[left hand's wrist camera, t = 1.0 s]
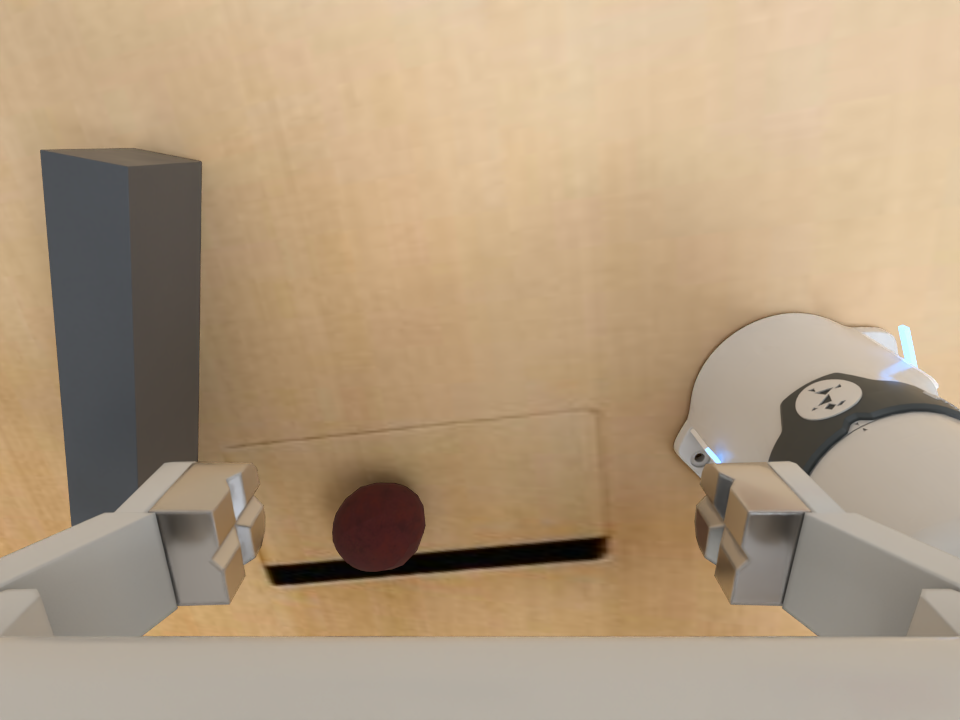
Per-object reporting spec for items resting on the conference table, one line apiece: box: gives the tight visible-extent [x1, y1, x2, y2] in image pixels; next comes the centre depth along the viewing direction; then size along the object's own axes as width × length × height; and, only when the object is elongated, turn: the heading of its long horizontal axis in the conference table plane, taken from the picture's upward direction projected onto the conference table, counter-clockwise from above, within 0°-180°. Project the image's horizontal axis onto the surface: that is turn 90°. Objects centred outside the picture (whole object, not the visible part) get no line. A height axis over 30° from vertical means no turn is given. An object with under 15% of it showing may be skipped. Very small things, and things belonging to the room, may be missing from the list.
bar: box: [40, 148, 202, 527], centre depth 41 cm, size 27×5×9 cm, turn 169°
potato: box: [332, 483, 425, 572], centre depth 47 cm, size 7×8×7 cm
